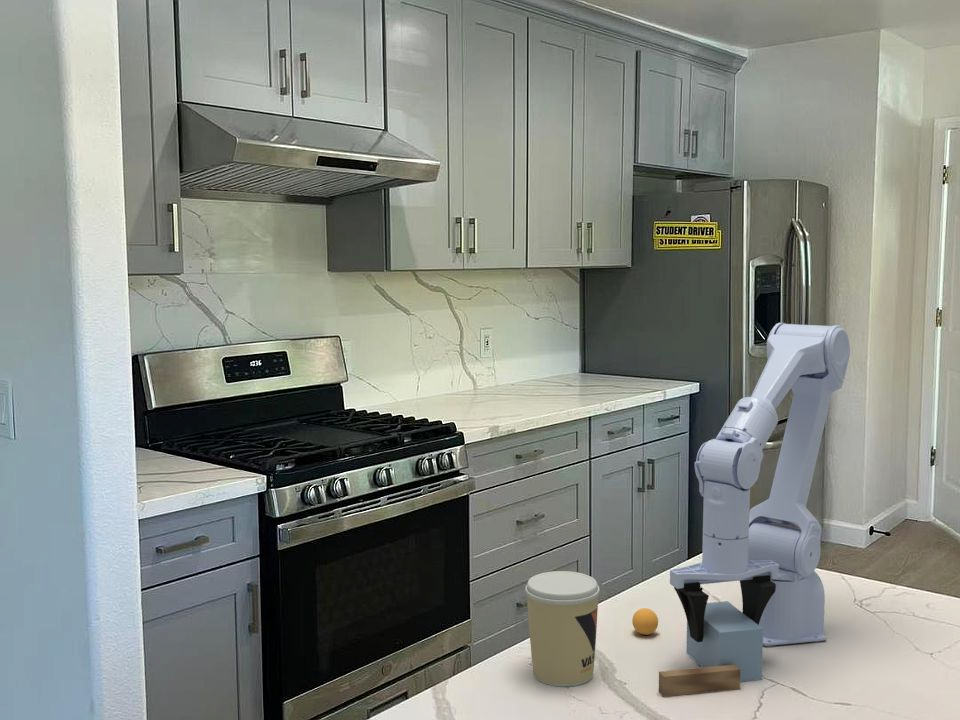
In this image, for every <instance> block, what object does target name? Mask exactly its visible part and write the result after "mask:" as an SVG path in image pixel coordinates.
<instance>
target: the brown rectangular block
mask: <svg viewBox="0 0 960 720" xmlns="http://www.w3.org/2000/svg"><path fill="white" fill-rule="evenodd" d="M740 689H741V682H740V668H738V667H737V666H736V665H735V664H733V665H722V666H712V667H693V668H692V667H691V668H683V669H673V670H663V671H658V692H659V694H660V695H661V696H662V697H663V698H665V697H666V698H667V697H674V696H675V697H676V696H684V695H693V694H704V693H713V691H714V692H723V691H724V690H725V691H734V690H740Z"/></svg>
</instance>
